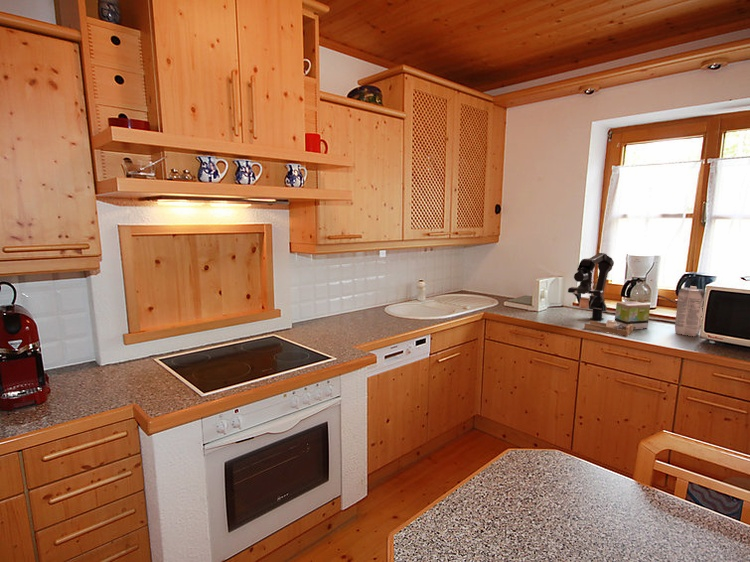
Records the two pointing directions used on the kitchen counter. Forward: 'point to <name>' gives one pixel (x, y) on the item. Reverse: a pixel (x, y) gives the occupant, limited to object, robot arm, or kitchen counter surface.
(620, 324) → the pusher plate
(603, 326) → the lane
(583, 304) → the pinkish tan cube
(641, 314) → the tea box
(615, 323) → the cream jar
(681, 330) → the juice carton
